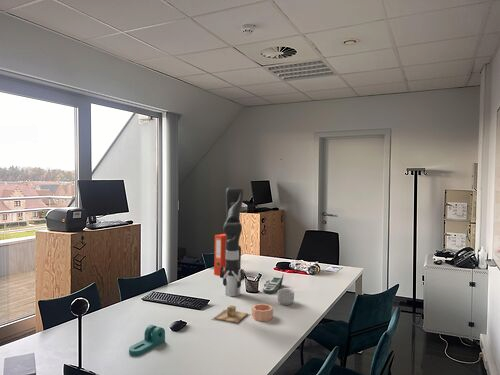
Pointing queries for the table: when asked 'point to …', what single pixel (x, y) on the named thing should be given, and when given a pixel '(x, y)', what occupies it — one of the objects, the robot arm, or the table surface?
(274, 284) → the communication device
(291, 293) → the teacup
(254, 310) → the bowl
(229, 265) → the robot arm
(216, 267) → the file binder
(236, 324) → the mat
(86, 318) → the table surface
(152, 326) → the bracket
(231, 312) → the lid
